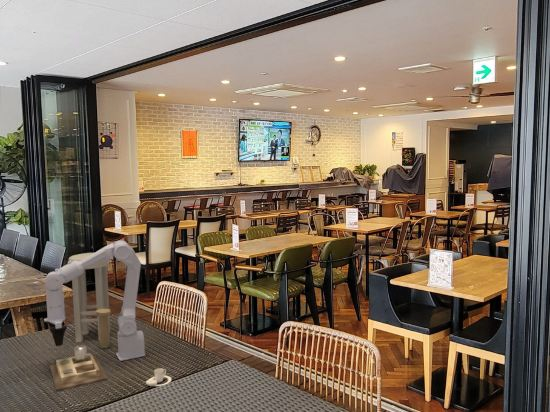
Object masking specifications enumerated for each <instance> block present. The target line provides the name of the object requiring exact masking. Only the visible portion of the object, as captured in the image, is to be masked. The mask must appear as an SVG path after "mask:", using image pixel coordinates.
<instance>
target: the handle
mask: <svg viewBox="0 0 550 412" xmlns="http://www.w3.org/2000/svg"><path fill="white" fill-rule="evenodd" d="M95 311H96V315H95V316H99V337H100V341H99V344H100V347H101V349H107V348H110V341H111V340H110V339H111V338H110V337H111V334H110V332H111V330H110V331H109V323H108V315H109V316H110V315H111V313H112V311H111V309H110V308H109V309H98V310H97V309H96V310H95ZM99 337H98V338H99Z"/></svg>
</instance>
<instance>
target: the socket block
mask: <svg viewBox="0 0 550 412" xmlns="http://www.w3.org/2000/svg"><path fill="white" fill-rule="evenodd" d="M49 369H50V371H51V372H50V373H51V376H52V379H53V384H54V388H55V391H56V392H58V391H59V392H60V391H63V390H68V389H72V388H77V387H80V386H86V385H90V384H93V383H94V384H95V383H98V382H103V381H107V380H108V376H107V375H106V373H105V371H104V368H103V367H102V365H101V362H100V361H99V359H98V358H97V355H94V356H93V354H92V353H91V352H89V353H87V361H86V362H81V363H76V364H75V356H71V357H66V358H62V359H61V358H60V359H56V362H55V364H49Z"/></svg>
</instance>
